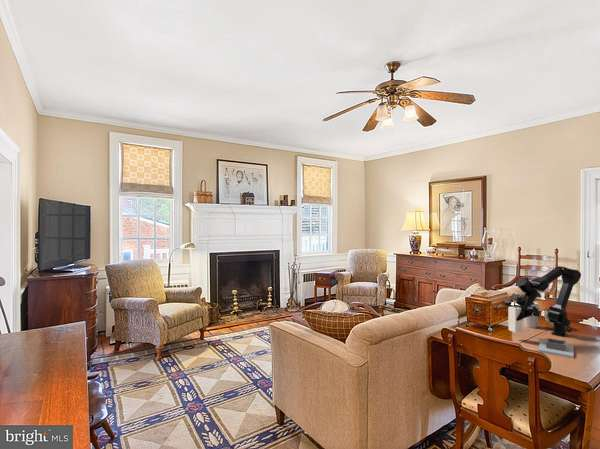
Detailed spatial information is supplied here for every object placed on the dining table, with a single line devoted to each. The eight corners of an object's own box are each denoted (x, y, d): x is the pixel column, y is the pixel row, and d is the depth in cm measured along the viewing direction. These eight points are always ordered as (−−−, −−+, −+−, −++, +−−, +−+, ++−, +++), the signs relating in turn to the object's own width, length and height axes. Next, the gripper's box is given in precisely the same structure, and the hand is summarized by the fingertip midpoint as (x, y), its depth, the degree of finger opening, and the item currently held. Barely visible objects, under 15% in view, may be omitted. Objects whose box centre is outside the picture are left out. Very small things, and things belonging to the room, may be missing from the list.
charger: (514, 329, 195) (514, 305, 195) (522, 331, 191) (521, 307, 191) (508, 330, 194) (508, 306, 194) (515, 332, 190) (515, 308, 190)
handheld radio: (550, 320, 229) (573, 332, 205) (544, 320, 230) (566, 332, 205) (549, 310, 229) (572, 321, 205) (544, 310, 230) (566, 321, 205)
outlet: (540, 341, 188) (540, 334, 188) (573, 347, 180) (573, 339, 180) (538, 351, 174) (538, 343, 174) (573, 358, 166) (573, 349, 166)
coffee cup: (539, 325, 218) (539, 301, 218) (540, 329, 210) (540, 304, 210) (521, 323, 223) (521, 300, 223) (521, 327, 215) (521, 303, 215)
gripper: (506, 285, 202) (491, 305, 199) (535, 291, 184) (519, 314, 181) (517, 298, 204) (502, 318, 202) (547, 305, 186) (531, 327, 184)
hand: (513, 319), depth 192 cm, fingers closed on charger, 4 cm apart
